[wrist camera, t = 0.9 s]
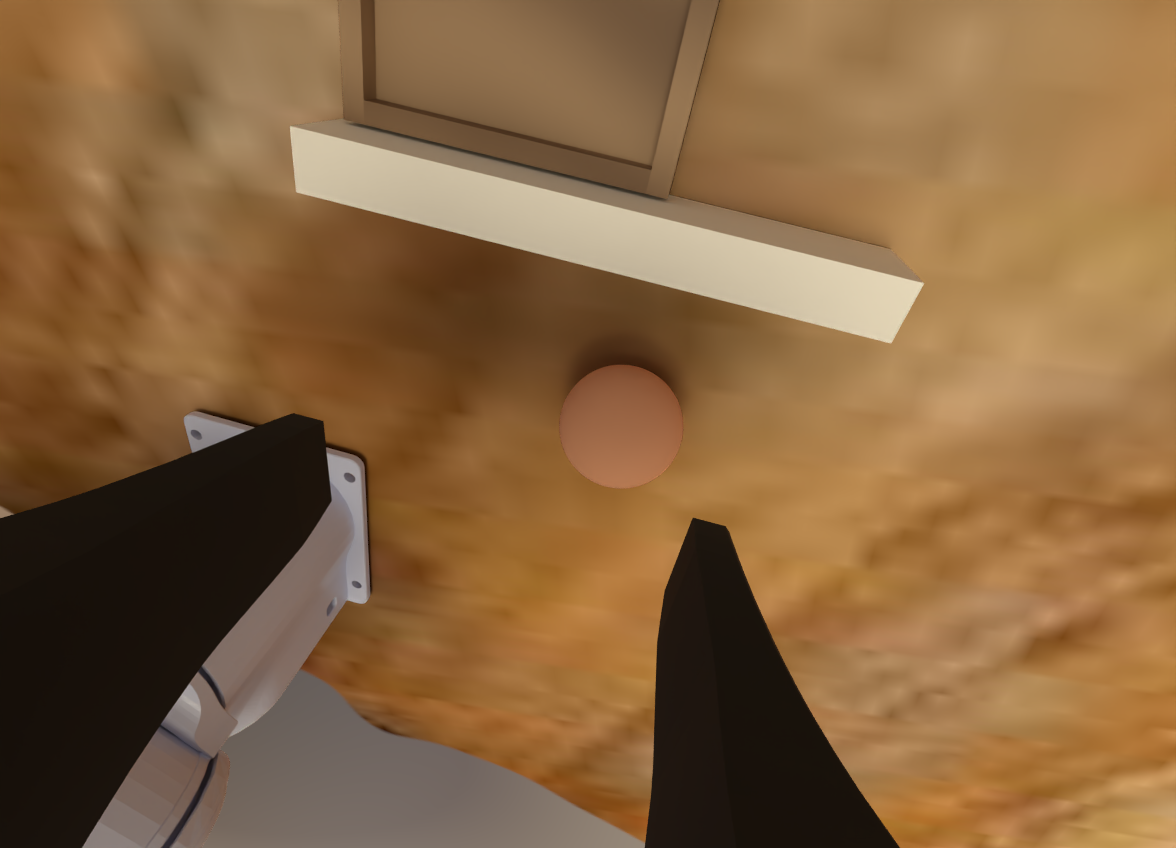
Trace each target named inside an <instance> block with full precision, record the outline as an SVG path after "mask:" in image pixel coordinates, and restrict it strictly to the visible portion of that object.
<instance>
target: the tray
mask: <svg viewBox="0 0 1176 848" xmlns="http://www.w3.org/2000/svg"><path fill="white" fill-rule="evenodd" d="M719 2H720V0H338V13H339V33H340V53H341V74H342V94H343V114H344V120H347V121H351V122H356V123H360V124H364V125H368V126H372V127H376V128H380V129H384V130H388V131H392V132H396V133H400V134H404V135H408V136H412V137H416V138H421V139H425V140H429V141H433V142H437V143H441V144H445V145H449V146H453V147H457V148H461V149H465V150H469V151H473V152H477V153H481V154H486V155H490V156H494V157H498V158H502V159H506V160H510V161H514V162H518V163H522V164H526V165H530V166H534V167H538V168H542V169H546V170H551V171H555V172H559V173H563V174H567V175H571V176H575V177H579V178H583V179H587V180H591V181H595V182H599V183H603V184H607V185H611V186H616V187H620V188H624V189H628V190H632V191H636V192H640V193H644V194H648V195H652V196H656V197H660V198H664V199H668V196H669V193H670V190H671V186H672V183H673V179H674V175H675V171H676V167H677V163H678V160H679V156H680V152H681V148H682V144H683V140H684V136H685V133H686V129H687V125H688V121H689V117H690V113H691V109H692V106H693V102H694V98H695V94H696V90H697V86H698V83H699V79H700V75H701V71H702V67H703V63H704V59H705V56H706V52H707V48H708V44H709V40H710V36H711V33H712V29H713V25H714V21H715V17H716V13H717V9H718V6H719Z"/></svg>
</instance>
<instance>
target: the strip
mask: <svg viewBox="0 0 1176 848" xmlns="http://www.w3.org/2000/svg"><path fill="white" fill-rule="evenodd" d="M290 134H291V144H292V154H293V164H294V174H295V185H296V192H297V193H301V194H305V195H309V196H313V197H317V198H321V199H325V200H329V201H333V202H337V203H341V204H345V205H349V206H352V207H356V208H360V209H364V210H368V211H372V212H376V213H380V214H384V215H388V216H392V217H396V218H400V219H404V220H408V221H411V222H415V223H419V224H423V225H427V226H431V227H435V228H439V229H443V230H447V231H451V232H455V233H459V234H463V235H467V236H470V237H474V238H478V239H482V240H486V241H490V242H494V243H498V244H502V245H506V246H510V247H514V248H518V249H522V250H526V251H529V252H533V253H537V254H541V255H545V256H549V257H553V258H557V259H561V260H565V261H569V262H573V263H577V264H581V265H584V266H588V267H592V268H596V269H600V270H604V271H608V272H612V273H616V274H620V275H624V276H628V277H632V278H636V279H640V280H643V281H647V282H651V283H655V284H659V285H663V286H667V287H671V288H675V289H679V290H683V291H687V292H691V293H695V294H699V295H702V296H706V297H710V298H714V299H718V300H722V301H726V302H730V303H734V304H738V305H742V306H746V307H750V308H754V309H758V310H761V311H765V312H769V313H773V314H777V315H781V316H785V317H789V318H793V319H797V320H801V321H805V322H809V323H813V324H817V325H820V326H824V327H828V328H832V329H836V330H840V331H844V332H848V333H852V334H856V335H860V336H864V337H868V338H872V339H876V340H879V341H883V342H887V343H892V341H893V339H894V337H895V335H896V333H897V332H898V330H899V328H900V326H901V324H902V323H903V321H904V319H905V317H906V315H907V313H908V312H909V310H910V308H911V306H912V304H913V303H914V301H915V299H916V297H917V295H918V294H919V292H920V290H921V288H922V286H923V284H924V283H923V282H922V281H921V280H920V279H919V277H918V276H917V275H916V274H915V273H914V272H913V271H912V270H911V269H910V268H909V267H908V266H907V265H906V264H905V263H904V262H903V261H902V260H901V259H900V258H899V257H898V256H897V255H896V254H895V253H894V252H893V251H892V250H891V249H888V248H884V247H880V246H876V245H872V244H868V243H864V242H860V241H856V240H852V239H848V238H844V237H839V236H835V235H831V234H827V233H823V232H819V231H815V230H811V229H807V228H803V227H799V226H795V225H791V224H787V223H783V222H778V221H774V220H770V219H766V218H762V217H758V216H754V215H750V214H746V213H742V212H738V211H734V210H730V209H726V208H721V207H717V206H713V205H709V204H705V203H701V202H697V201H693V200H689V199H685V198H681V197H677V196H673V195H669V196H668V199H664V198H660V197H656V196H652V195H648V194H644V193H640V192H636V191H632V190H628V189H624V188H620V187H616V186H611V185H607V184H603V183H599V182H595V181H591V180H587V179H583V178H579V177H575V176H571V175H567V174H563V173H559V172H555V171H551V170H546V169H542V168H538V167H534V166H530V165H526V164H522V163H518V162H514V161H510V160H506V159H502V158H498V157H494V156H490V155H486V154H481V153H477V152H473V151H469V150H465V149H461V148H457V147H453V146H449V145H445V144H441V143H437V142H433V141H429V140H425V139H421V138H416V137H412V136H408V135H404V134H400V133H396V132H392V131H388V130H384V129H380V128H376V127H372V126H368V125H364V124H360V123H356V122H351V121H347V120H344V118H343V119H336V120H329V121H322V122H314V123H307V124H300V125H293V126H290Z"/></svg>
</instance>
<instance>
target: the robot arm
mask: <svg viewBox="0 0 1176 848" xmlns="http://www.w3.org/2000/svg"><path fill="white" fill-rule="evenodd" d="M184 424H185V428H186V432H187V435H188V439H189V443H190V447H191V451H192V453H191V454H188V455H186V456H183V457H181V458H178V459H176V460H173V461H171V462H168V463H166V464H163V465H160V466H158V467H155V468H152V469H149V470H147V471H144V472H141V473H138V474H136V475H133V476H130V477H127V478H125V479H122V480H119V481H116V482H114V483H111V484H108V485H105V486H103V487H100V488H97V489H94V490H91V491H88V492H85V493H82V494H79V495H76V496H73V497H70V498H67V499H64V500H61V501H57V502H54V503H51V504H47V505H44V506H41V507H37V508H34V509H31V510H27V511H24V512H21V513H17V514H14V515H10V516H7V517H4V518H0V848H202V846H203V844H204V843H205V841H206V839H207V838H208V836H209V833H210V832H211V830H212V828H213V826H214V824H215V822H216V820H217V818H218V816H219V813H220V811H221V808H222V806H223V802H224V799H225V795H226V788H227V781H228V777H229V769H230V768H229V767H230V761H229V758H228V756H227V754H226V753H224V752H223V751H222V750H220V748H221V747H222V745H223V744H224V743H225V741H226V740H227V739H228V737H230V736H232V735H234V734H236V733H238V732H240V731H242V730H243V729H245V728H246V727H248V726H250V725H251V724H253V723H254V722H255V721H257V720H258V719H259V718H260V717H262V715H264V714H265V713H266V712H267V711H268V710H269V709H270V708H271V707H272V706H273V705H274V704H275V703H276V702H277V700H278V699H279V698H280V697H281V695H282V694H283V692H284V691H285V689H286V688H287V687H288V685H289V684H290V682H291V681H292V679H293V678H294V676H295V675H296V673H297V672H298V671H299V669H300V668H301V666H302V665H303V663H304V662H305V660H306V659H307V657H308V656H309V655H310V653H311V652H312V650H313V649H314V647H315V646H316V644H317V643H318V641H319V640H320V639H321V637H322V636H323V634H324V633H325V631H326V630H327V628H328V627H329V625H330V624H331V622H332V621H333V620H334V618H335V617H336V615H337V614H338V612H339V611H340V609H341V608H342V606H343V605H344V604H345V602H346V601H347V600H349V601H352V602H355V603H360V604H362V603H366V602H367V600H368V599H369V597H370V577H369V555H368V533H367V510H366V488H365V467H364V463H363V462H362V460H361V459H360V458H359V457H357V456H355V455H352V454H349V453H345V452H341V451H338V450H334V449H331V448H327V447H326V442H325V433H324V424H323V421H321V420H317V419H313V418H309V417H305V416H302V415H298V414H294V413H293V414H290V415H287V416H284V417H281V418H279V419H276V420H273V421H271V422H268V423H265V424H263V425H260V426H258V427H252V426H248V425H244V424H241V423H237V422H234V421H230V420H226V419H223V418H219V417H216V416H212V415H208V414H205V413H201V412H197V411H193V412H190V413H189V414H187V415H186V416H185V417H184ZM351 474H352V475H353V476H352V475H351ZM645 848H900V847H899V846H898V844H897V843H896V842H895V840H894V839H893V837H892V836H891V835H890V833H889V832H888V830H887V829H886V827H885V826H884V825H883V823H882V822H881V820H880V819H879V818H878V816H877V815H876V813H875V812H874V810H873V809H872V808H871V806H870V805H869V803H868V802H867V801H866V799H865V798H864V796H863V795H862V794H861V792H860V791H859V789H858V788H857V786H856V784H855V783H854V781H853V780H852V778H851V777H850V775H849V773H848V772H847V770H846V769H845V767H844V766H843V764H842V763H841V761H840V759H839V758H838V756H837V755H836V753H835V752H834V750H833V748H832V747H831V745H830V743H829V742H828V740H827V738H826V737H825V735H824V733H823V732H822V730H821V728H820V727H819V725H818V723H817V722H816V720H815V718H814V717H813V715H812V713H811V711H810V710H809V708H808V706H807V704H806V702H805V701H804V699H803V697H802V695H801V693H800V691H799V690H798V688H797V686H796V684H795V682H794V680H793V678H792V676H791V674H790V672H789V670H788V669H787V667H786V665H785V663H784V661H783V659H782V657H781V655H780V653H779V651H778V649H777V647H776V645H775V642H774V640H773V638H772V636H771V634H770V632H769V629H768V627H767V625H766V623H765V621H764V618H763V616H762V614H761V612H760V610H759V607H758V605H757V603H756V601H755V598H754V596H753V593H752V591H751V589H750V586H749V584H748V581H747V579H746V576H745V574H744V571H743V569H742V566H741V563H740V561H739V558H738V555H737V553H736V550H735V547H734V544H733V542H732V539H731V536H730V533H729V531H728V529H727V528H726V526H722V525H719V524H715V523H711V522H707V521H703V520H699V519H696V518H693V519H692V521H691V524H690V526H689V529H688V532H687V534H686V537H685V539H684V542H683V545H682V547H681V550H680V552H679V555H678V558H677V560H676V563H675V565H674V568H673V571H672V573H671V576H670V578H669V581H668V584H667V586H666V589H665V593H664V599H663V606H662V612H661V619H660V626H659V634H658V641H657V663H656V693H655V725H654V757H653V776H652V790H651V800H650V809H649V817H648V825H647V834H646V842H645Z"/></svg>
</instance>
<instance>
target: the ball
mask: <svg viewBox="0 0 1176 848" xmlns="http://www.w3.org/2000/svg"><path fill="white" fill-rule="evenodd" d="M559 432H560V438H561V443H562V446H563V449H564V451H565V453H566V455H567V457H568V459H569V460H570V462H571V463H572V465H573V466H574V467H575V468H576V469H577V470H578V471H579V472H580V473H581V474H582V475H583V476H585V477H586V478H588V479H589V480H591V481H593V482H595V483H597V484H600V485H603V486H606V487H611V488H632V487H637V486H640V485H643V484H646V483H648V482H650V481H652V480H653V479H655V478H656V477H658V476H659V475H660V474H662V473H663V472H664V471H665V470H666V469H667V468H668V467H669V465H670V464H671V463H672V461H673V460H674V458H675V457H676V455H677V452H678V450H679V448H680V445H681V441H682V437H683V416H682V412H681V408H680V405H679V403H678V400H677V398H676V396H675V395H674V393H673V392H672V390H671V389H670V388H669V386H668V385H667V384H666V383H665V382H664V381H663V380H662V379H660V378H659V377H658V376H656V375H655V374H653V373H652V372H650V371H647V370H645V369H643V368H640V367H637V366H632V365H611V366H606V367H603V368H600V369H597V370H595V371H593V372H591V373H589V374H588V375H586V376H585V377H583V378H582V379H581V380H580V381H579V382H578V383H577V384H576V385H575V386H574V387H573V388H572V390H571V391H570V393H569V394H568V396H567V397H566V400H565V402H564V404H563V407H562V411H561V414H560V422H559Z"/></svg>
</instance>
